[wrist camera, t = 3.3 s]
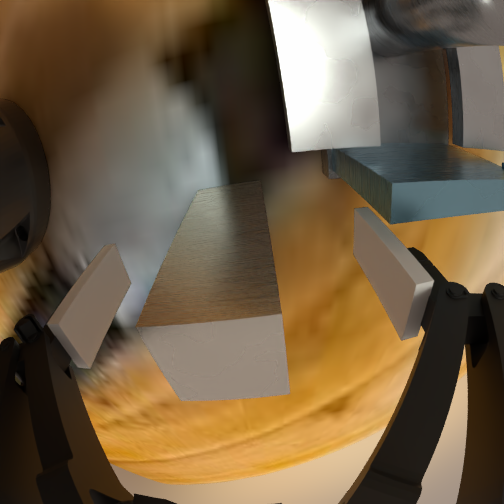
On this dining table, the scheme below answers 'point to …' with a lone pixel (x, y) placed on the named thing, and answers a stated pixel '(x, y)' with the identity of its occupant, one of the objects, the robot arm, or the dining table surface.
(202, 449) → the dining table surface
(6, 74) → the dining table surface
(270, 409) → the dining table surface
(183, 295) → the grey rectangular block
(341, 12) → the notched panel with ball
